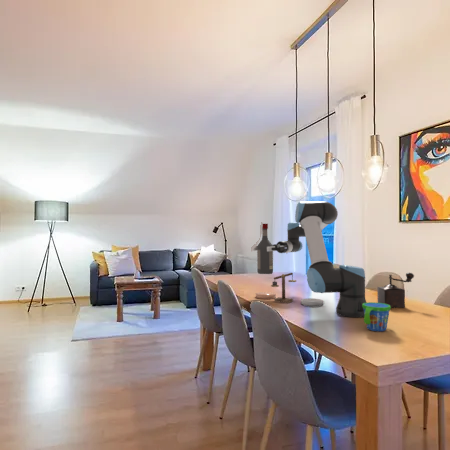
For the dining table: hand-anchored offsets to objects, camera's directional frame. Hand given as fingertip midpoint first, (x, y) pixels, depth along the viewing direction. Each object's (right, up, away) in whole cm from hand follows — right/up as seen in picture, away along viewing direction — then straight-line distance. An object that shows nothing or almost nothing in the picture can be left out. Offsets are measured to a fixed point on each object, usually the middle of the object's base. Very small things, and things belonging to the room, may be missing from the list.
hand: (260, 248), depth 215 cm
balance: (+12, -29, -11) cm, 34 cm away
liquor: (+3, -15, +3) cm, 16 cm away
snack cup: (+41, -29, -68) cm, 85 cm away
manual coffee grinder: (+70, -29, -25) cm, 79 cm away
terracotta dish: (+3, -29, +2) cm, 30 cm away
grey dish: (+27, -29, -19) cm, 44 cm away
